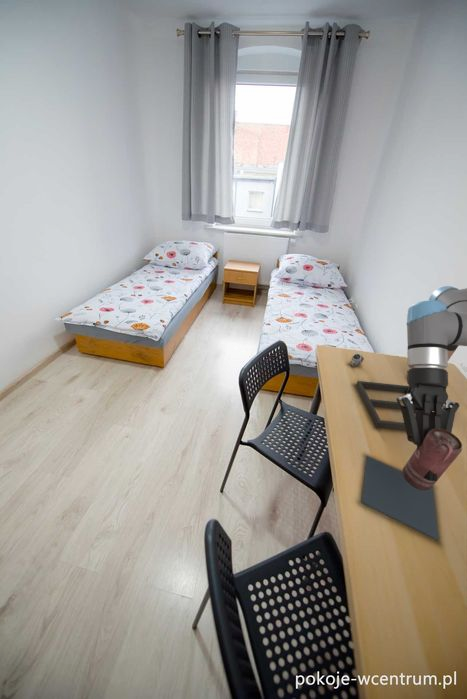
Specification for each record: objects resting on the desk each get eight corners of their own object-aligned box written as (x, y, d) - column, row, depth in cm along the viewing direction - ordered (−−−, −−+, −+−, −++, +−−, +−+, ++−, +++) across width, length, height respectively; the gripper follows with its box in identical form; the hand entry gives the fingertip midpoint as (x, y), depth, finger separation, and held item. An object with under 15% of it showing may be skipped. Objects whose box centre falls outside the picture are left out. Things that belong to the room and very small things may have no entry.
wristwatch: (346, 363, 110) (351, 353, 107) (357, 360, 113) (362, 350, 110) (353, 369, 108) (358, 359, 105) (364, 365, 111) (369, 355, 108)
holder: (406, 391, 100) (409, 386, 99) (435, 433, 85) (439, 428, 84) (355, 385, 100) (357, 380, 98) (375, 427, 84) (378, 422, 83)
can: (407, 490, 61) (439, 448, 54) (397, 465, 66) (424, 424, 59) (436, 495, 61) (471, 454, 53) (423, 469, 66) (454, 429, 59)
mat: (431, 486, 71) (432, 485, 70) (437, 540, 60) (438, 539, 60) (366, 457, 76) (367, 456, 75) (361, 502, 65) (362, 501, 65)
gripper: (441, 373, 67) (444, 476, 63) (388, 367, 66) (387, 471, 62) (469, 370, 59) (474, 487, 55) (409, 364, 59) (410, 481, 55)
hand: (428, 478), depth 59 cm, fingers closed
